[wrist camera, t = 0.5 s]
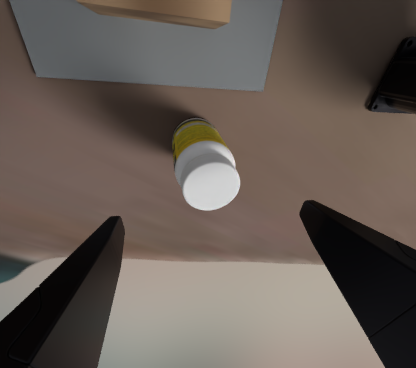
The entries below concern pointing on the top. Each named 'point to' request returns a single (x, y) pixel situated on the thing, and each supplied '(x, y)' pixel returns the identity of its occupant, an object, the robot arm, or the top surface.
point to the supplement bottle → (204, 165)
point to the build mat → (149, 46)
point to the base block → (166, 11)
